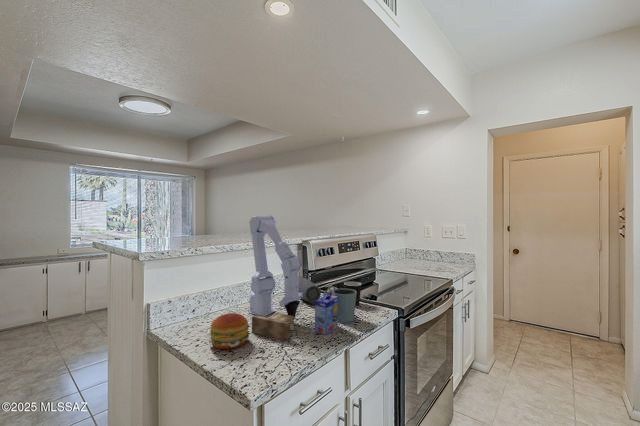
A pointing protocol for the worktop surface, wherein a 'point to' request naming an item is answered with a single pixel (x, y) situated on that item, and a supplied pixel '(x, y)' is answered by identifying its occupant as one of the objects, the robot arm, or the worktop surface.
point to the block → (284, 319)
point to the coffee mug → (354, 286)
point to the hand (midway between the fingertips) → (291, 319)
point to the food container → (329, 290)
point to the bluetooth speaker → (308, 290)
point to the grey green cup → (345, 304)
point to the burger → (229, 331)
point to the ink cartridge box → (326, 314)
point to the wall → (271, 327)
